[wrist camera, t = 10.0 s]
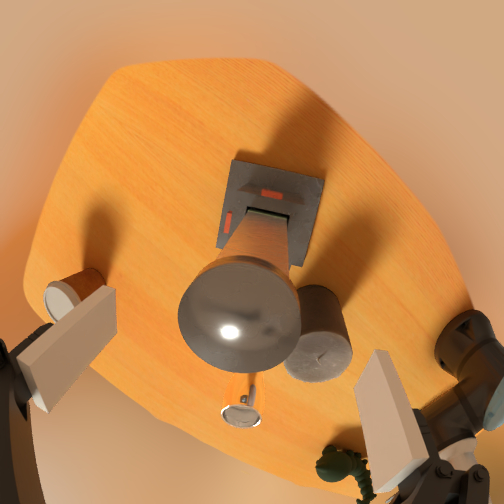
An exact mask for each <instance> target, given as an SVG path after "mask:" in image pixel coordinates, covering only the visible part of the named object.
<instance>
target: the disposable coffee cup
mask: <svg viewBox="0 0 504 504" xmlns="http://www.w3.org/2000/svg"><path fill="white" fill-rule="evenodd" d="M103 285H105V281H104V279H103V277H102V276H101V274H100V273H99V272H98V271H96V270H95V269H92V268H88V269H86V270H83V271H81V272H78V273H76V274H74V275H71V276H69V277H67V278H64V279H62V280H60V281H53V282H51V283H49V284H48V286H47V288H46V290H45V292H44V296H43V300H44V305H45V308H46V310H47V312H48V314H49V316H50V317H51V318H52V320H53V321H54V322H55V323H56V322H58V321H59V320H60V319H61V318H62V317H64V316H65V315H66V314H67V313H68V312H70V311H71V310H72V309H73V308H75V307H76V306H77V305H78V304H80V303H81V302H82V301H83V300H85V299H86V298H87V297H88V296H90V295H91V294H92V293H94V292H95V291H96V290H97V289H99V288H100V287H101V286H103Z"/></svg>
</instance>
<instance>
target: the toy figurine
mask: <svg viewBox="0 0 504 504" xmlns="http://www.w3.org/2000/svg"><path fill="white" fill-rule="evenodd" d="M322 455H323V456H322V457H321V458H320V459H319V460H317V462H316V464H317V465H316V467H315V468H316V472H317V474H318V476H319V477H320V478H321V479H322V480H324V481H326V482H337V481H341V480H342V479H344V478H345V477H346V476H348V475H352V476H354V477H355V480H356V481H357V482H358V486H359V488H361V491H360V492H361V494H362V495H363V500H362V501H361V500H360V499H357V500H356V502H357V504H369V503H370V501H372V500H373V499H374V498H375V497H376V496H377V495H376V494H374V493H373V486H372V479H371V478H370V475H371V472H370V470H367V469H366V464H367V463H368V461H367V460H366V459H364V460H361V459H360V458H361V454H360V453H356V454H355V455H354V452H353V451H352V450H349V451H347V452H346V453H343V452H340V451H337V449H336V447H335V446H329V447H327V448H325V449H324V450H323V451H322Z"/></svg>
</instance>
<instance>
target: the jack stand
mask: <svg viewBox="0 0 504 504" xmlns="http://www.w3.org/2000/svg"><path fill="white" fill-rule="evenodd" d="M323 185H324V180H323V179H319V178H315V177H311V176H307V175H303V174H299V173H295V172H291V171H286V170H282V169H277V168H273V167H268V166H263V165H258V164H253V163H248V162H243V161H238V160H232V162H231V167H230V172H229V177H228V183H227V188H226V193H225V199H224V204H223V210H222V215H221V221H220V227H219V232H218V238H217V244H216V248H220V249H223V248H224V246H225V245H226V243H227V242H228V240H229V239H230V237H231V236H232V234H233V233H234V231H235V230H236V228H237V227H238V225H239V224H240V222H241V221H242V220H243V218H244V217H245V215H246V214H247V212H248V210H249V209H250V208H251V207H255V208H260V209H264V210H269V211H273V212H278V213H282V214H286V217H287V238H288V260H289V270H290V267H291V265H295V266H300V267H302V266H303V262H304V259H305V255H306V251H307V248H308V244H309V240H310V237H311V233H312V229H313V225H314V221H315V217H316V213H317V209H318V205H319V201H320V197H321V193H322V189H323Z"/></svg>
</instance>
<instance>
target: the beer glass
mask: <svg viewBox="0 0 504 504" xmlns="http://www.w3.org/2000/svg"><path fill="white" fill-rule="evenodd" d="M263 372H264V371H261V372H256V373H234V374H233V376H232V378H231V379H230V381H229V383H228V385H227V388H226V390H225V394H224V398H223V403H222V410H221V417H222V419H223V420H224V421H225V422H226V423H227V424H229V425H231V426H233V427H236V428H243V429H247V428H253V427H255V426H257V425H259V424H260V422H261V420H262V415H263V411H264V405H265V386H264V379H263Z"/></svg>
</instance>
